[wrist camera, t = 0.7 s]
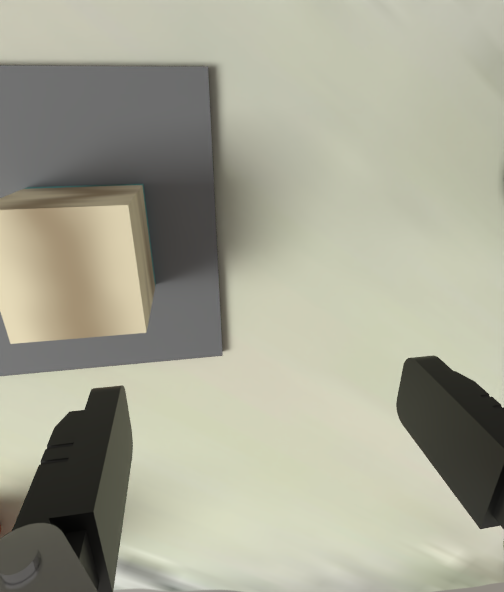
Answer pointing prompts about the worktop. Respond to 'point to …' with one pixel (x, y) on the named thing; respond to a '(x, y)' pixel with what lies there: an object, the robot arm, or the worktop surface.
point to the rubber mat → (123, 170)
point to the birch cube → (75, 262)
